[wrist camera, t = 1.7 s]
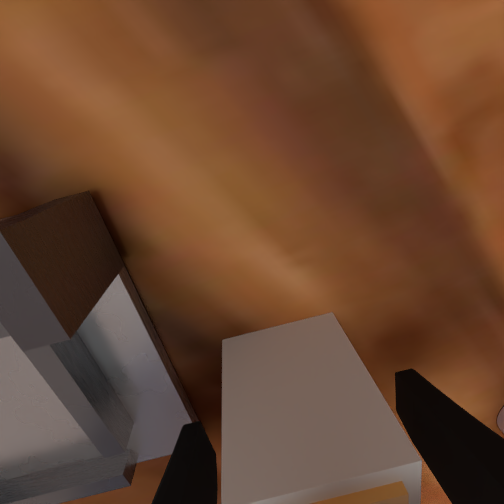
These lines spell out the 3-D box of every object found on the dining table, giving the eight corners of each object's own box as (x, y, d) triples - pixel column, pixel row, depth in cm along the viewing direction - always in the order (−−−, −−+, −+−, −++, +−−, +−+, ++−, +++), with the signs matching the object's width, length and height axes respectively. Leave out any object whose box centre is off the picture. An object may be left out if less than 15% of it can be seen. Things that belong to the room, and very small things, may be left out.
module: (343, 396, 13) (424, 573, 8) (251, 419, 13) (269, 611, 8) (332, 311, 11) (429, 473, 6) (222, 339, 11) (221, 525, 6)
